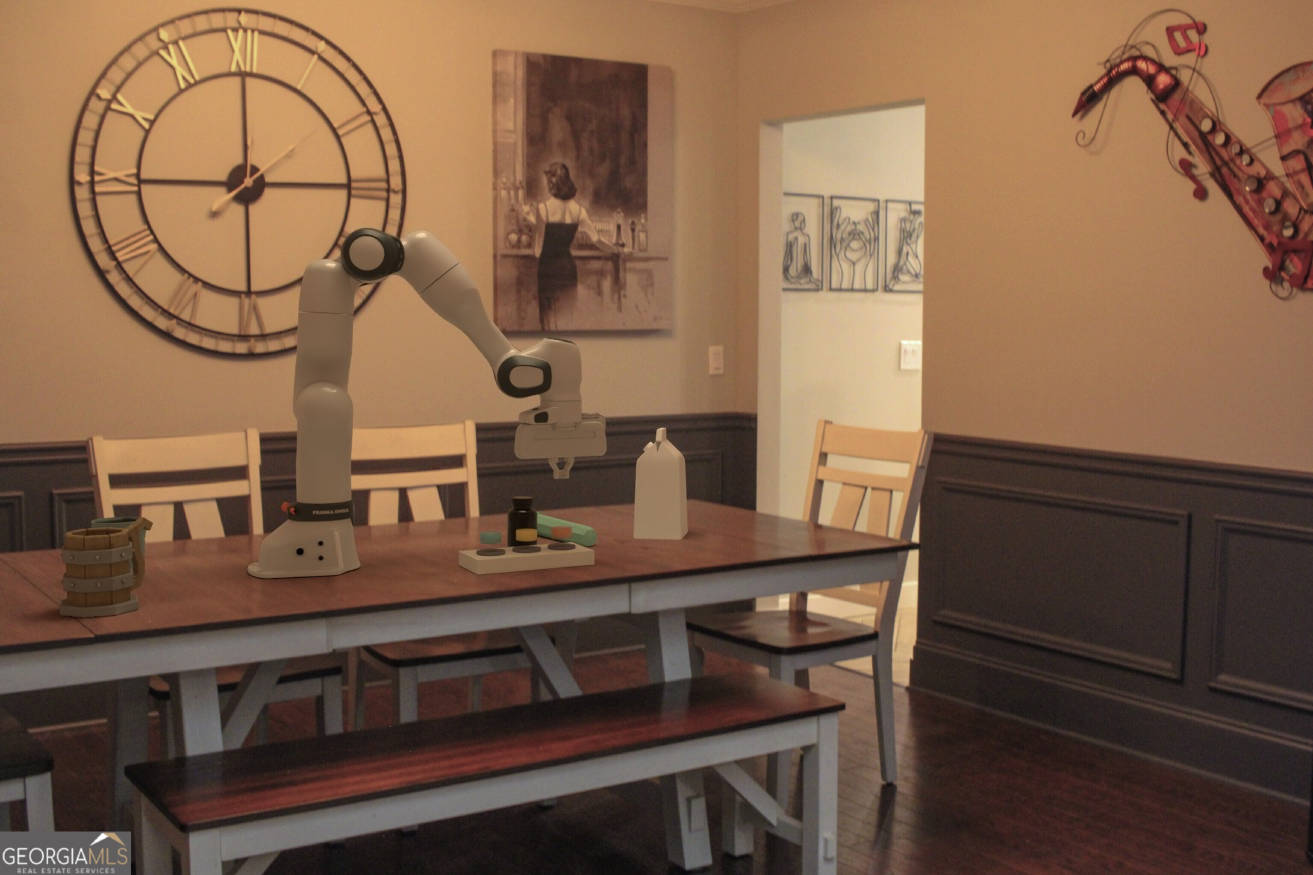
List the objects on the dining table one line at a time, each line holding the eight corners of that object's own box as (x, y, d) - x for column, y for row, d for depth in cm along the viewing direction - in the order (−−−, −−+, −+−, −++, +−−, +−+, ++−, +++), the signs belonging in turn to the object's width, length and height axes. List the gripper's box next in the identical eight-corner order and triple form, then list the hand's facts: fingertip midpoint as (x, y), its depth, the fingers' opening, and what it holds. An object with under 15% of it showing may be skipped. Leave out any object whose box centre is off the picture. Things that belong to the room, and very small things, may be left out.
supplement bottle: (532, 552, 286) (532, 499, 285) (503, 551, 287) (502, 498, 286) (541, 547, 292) (541, 495, 291) (512, 546, 294) (512, 494, 293)
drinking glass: (89, 585, 248) (87, 524, 247) (96, 575, 258) (94, 516, 257) (145, 582, 251) (143, 522, 250) (150, 573, 260) (149, 514, 259)
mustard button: (520, 541, 268) (520, 532, 268) (513, 538, 272) (513, 529, 271) (540, 540, 270) (540, 530, 270) (532, 537, 274) (532, 528, 273)
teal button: (484, 544, 264) (484, 535, 264) (477, 541, 268) (477, 532, 268) (504, 543, 266) (504, 533, 266) (497, 539, 270) (497, 530, 270)
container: (597, 521, 294) (539, 507, 314) (577, 532, 291) (520, 518, 311) (605, 543, 296) (547, 528, 316) (585, 555, 293) (528, 539, 313)
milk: (681, 539, 305) (681, 431, 303) (633, 538, 307) (633, 430, 304) (687, 531, 317) (688, 427, 314) (641, 530, 318) (642, 426, 316)
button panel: (477, 574, 260) (477, 557, 260) (458, 565, 270) (458, 548, 270) (594, 564, 272) (594, 547, 271) (571, 555, 282) (571, 539, 282)
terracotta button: (555, 539, 271) (555, 529, 271) (548, 536, 275) (548, 526, 275) (575, 537, 273) (575, 528, 273) (566, 534, 277) (566, 525, 277)
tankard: (99, 620, 218) (96, 533, 217) (43, 614, 223) (40, 528, 222) (182, 597, 237) (180, 517, 235) (129, 592, 241) (127, 513, 240)
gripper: (599, 411, 280) (599, 474, 281) (511, 414, 270) (511, 479, 271) (611, 413, 274) (611, 477, 275) (522, 416, 265) (522, 482, 266)
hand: (561, 478), depth 273 cm, fingers closed
